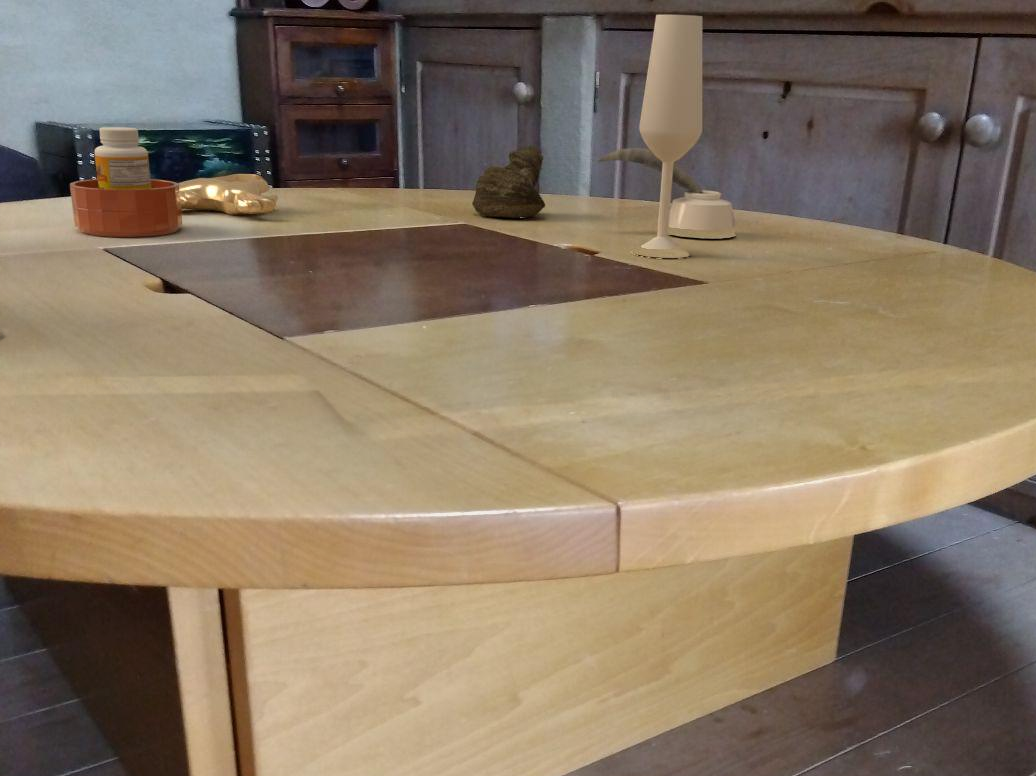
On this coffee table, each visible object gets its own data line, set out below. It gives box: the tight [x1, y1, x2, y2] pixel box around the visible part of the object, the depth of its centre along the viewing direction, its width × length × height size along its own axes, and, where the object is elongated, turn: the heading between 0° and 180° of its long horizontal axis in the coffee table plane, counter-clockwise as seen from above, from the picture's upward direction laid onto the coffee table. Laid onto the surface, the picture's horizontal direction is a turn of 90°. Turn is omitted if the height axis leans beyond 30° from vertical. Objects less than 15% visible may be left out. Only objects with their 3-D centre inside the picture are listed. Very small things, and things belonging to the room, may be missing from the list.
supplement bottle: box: [94, 126, 151, 189], centre depth 124 cm, size 6×6×10 cm
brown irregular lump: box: [471, 145, 546, 219], centre depth 147 cm, size 11×12×10 cm
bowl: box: [69, 178, 183, 238], centre depth 126 cm, size 11×11×5 cm
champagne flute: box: [630, 14, 703, 260], centre depth 120 cm, size 7×7×24 cm
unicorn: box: [177, 173, 279, 215], centre depth 141 cm, size 20×4×17 cm
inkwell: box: [596, 147, 736, 230], centre depth 137 cm, size 9×18×10 cm, turn 100°
